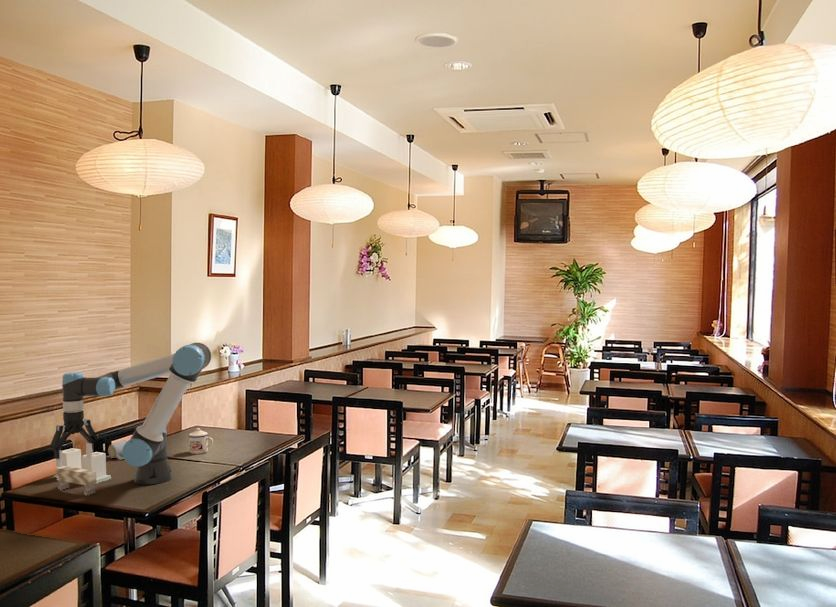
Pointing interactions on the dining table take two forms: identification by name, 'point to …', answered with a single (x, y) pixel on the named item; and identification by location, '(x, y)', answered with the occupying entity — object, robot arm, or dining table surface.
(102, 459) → the twin white pillars base
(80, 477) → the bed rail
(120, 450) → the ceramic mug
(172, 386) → the robot arm
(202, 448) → the teacup with lid
